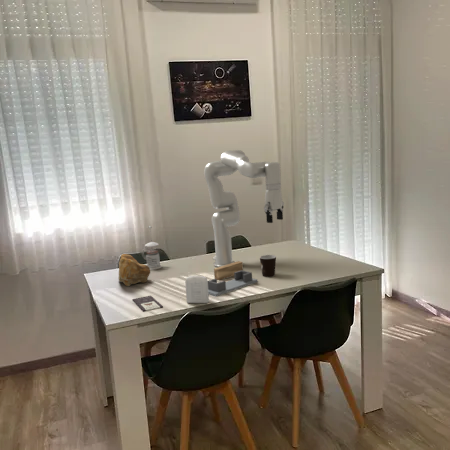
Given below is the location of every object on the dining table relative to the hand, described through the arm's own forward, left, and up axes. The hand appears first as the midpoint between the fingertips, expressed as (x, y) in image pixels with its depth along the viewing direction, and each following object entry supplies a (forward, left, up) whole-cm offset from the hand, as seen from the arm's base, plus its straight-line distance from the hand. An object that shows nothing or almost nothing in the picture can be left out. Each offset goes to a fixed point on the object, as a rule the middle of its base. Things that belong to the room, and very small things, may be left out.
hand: (274, 221), depth 231 cm
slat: (-23, -12, -30) cm, 40 cm away
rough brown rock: (-56, -51, -30) cm, 81 cm away
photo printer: (-4, -50, -30) cm, 58 cm away
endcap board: (-8, -26, -30) cm, 40 cm away
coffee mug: (-7, +1, -30) cm, 31 cm away
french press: (-74, -28, -30) cm, 85 cm away
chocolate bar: (-21, -65, -30) cm, 75 cm away
